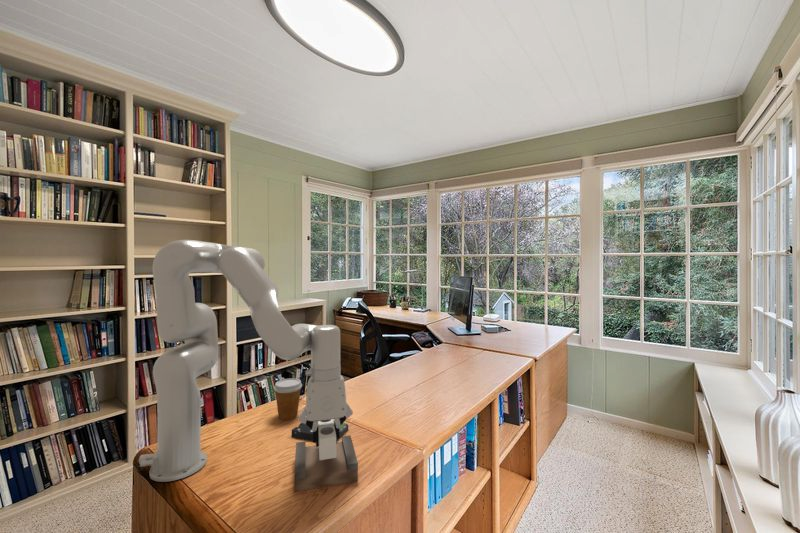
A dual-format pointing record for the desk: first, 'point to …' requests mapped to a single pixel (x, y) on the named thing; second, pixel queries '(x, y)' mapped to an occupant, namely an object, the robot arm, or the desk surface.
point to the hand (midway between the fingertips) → (326, 442)
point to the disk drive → (307, 432)
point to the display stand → (324, 466)
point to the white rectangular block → (327, 439)
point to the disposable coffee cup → (288, 398)
